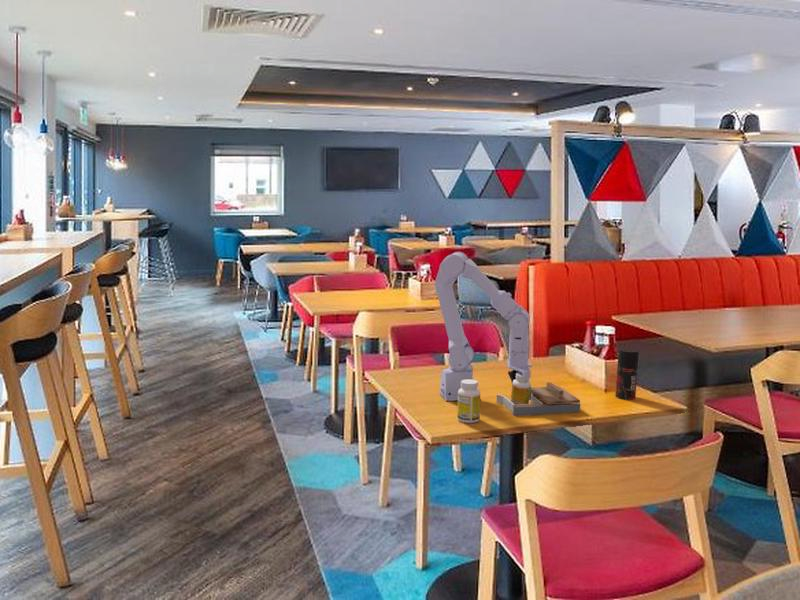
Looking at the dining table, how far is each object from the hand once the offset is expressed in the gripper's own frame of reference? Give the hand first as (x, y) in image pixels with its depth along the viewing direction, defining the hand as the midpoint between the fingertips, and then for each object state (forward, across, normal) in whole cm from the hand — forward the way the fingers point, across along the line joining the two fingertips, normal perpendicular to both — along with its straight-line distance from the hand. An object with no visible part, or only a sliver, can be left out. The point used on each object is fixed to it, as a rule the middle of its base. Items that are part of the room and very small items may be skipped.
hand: (517, 394), depth 215 cm
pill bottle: (+2, -13, +20) cm, 24 cm away
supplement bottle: (+2, -3, +1) cm, 4 cm away
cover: (0, -5, -9) cm, 10 cm away
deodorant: (+3, 0, -36) cm, 36 cm away
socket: (+2, -5, -4) cm, 7 cm away
